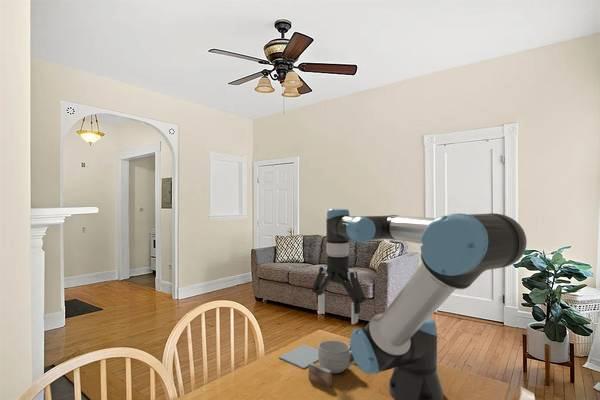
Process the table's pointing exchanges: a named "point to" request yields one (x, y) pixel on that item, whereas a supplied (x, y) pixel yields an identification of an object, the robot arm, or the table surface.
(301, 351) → the mat
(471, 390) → the table surface
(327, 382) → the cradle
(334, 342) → the teacup
